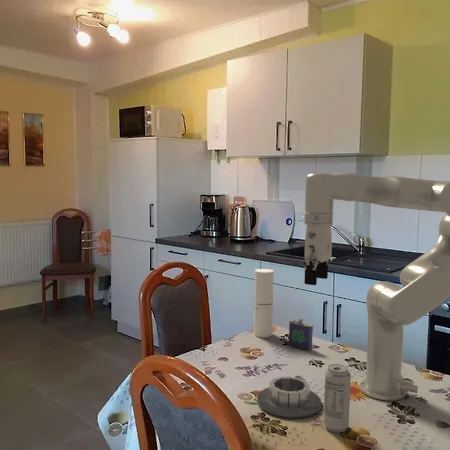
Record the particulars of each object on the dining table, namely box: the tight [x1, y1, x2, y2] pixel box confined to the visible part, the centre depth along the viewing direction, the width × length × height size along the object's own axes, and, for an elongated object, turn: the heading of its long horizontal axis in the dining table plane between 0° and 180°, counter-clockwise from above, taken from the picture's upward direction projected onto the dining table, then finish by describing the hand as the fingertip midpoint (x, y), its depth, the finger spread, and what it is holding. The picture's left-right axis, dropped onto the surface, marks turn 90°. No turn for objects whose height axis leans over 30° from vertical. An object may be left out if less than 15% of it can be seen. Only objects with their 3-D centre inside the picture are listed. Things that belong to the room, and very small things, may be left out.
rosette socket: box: [256, 376, 322, 420], centre depth 129 cm, size 17×17×5 cm
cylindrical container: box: [253, 268, 275, 338], centre depth 185 cm, size 7×7×25 cm
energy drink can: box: [323, 363, 352, 433], centre depth 117 cm, size 6×6×15 cm
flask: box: [288, 318, 314, 352], centre depth 172 cm, size 9×3×11 cm, turn 52°
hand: (316, 281), depth 132 cm, fingers open, 9 cm apart
